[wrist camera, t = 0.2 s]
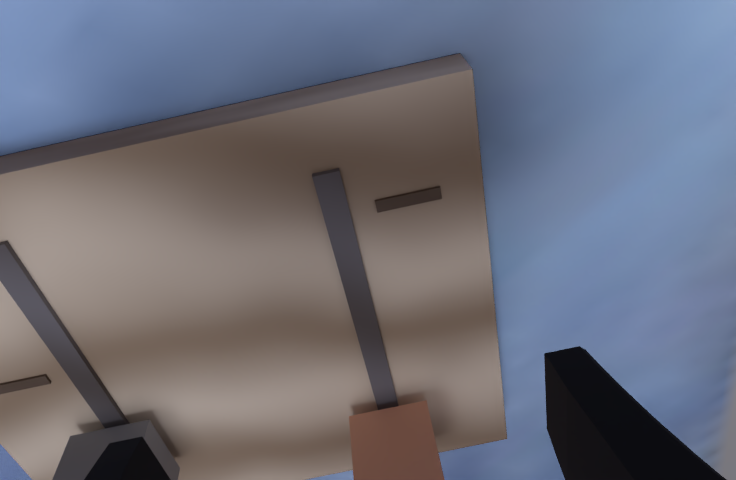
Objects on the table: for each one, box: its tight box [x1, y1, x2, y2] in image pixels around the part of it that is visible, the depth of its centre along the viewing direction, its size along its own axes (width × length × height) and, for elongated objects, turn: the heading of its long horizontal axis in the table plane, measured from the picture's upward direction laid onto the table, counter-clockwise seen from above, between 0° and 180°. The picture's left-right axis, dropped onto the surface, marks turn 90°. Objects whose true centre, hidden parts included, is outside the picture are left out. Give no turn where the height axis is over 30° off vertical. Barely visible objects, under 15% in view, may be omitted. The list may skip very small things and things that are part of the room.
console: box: [0, 53, 507, 480], centre depth 21 cm, size 16×19×2 cm
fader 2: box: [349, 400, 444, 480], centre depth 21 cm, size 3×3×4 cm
